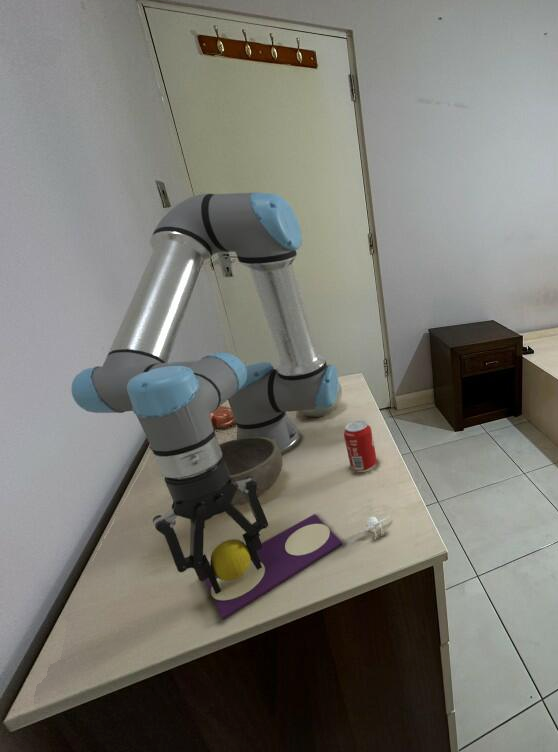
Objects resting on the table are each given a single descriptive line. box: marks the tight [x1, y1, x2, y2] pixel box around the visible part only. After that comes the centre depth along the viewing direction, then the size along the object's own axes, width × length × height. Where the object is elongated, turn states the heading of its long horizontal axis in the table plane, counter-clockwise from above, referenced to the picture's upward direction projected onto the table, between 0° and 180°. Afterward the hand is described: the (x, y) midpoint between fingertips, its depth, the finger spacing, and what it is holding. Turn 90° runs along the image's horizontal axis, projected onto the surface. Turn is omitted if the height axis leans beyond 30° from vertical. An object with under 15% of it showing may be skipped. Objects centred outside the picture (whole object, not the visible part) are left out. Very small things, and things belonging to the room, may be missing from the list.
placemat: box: [204, 514, 343, 621], centre depth 74 cm, size 12×20×1 cm, turn 139°
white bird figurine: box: [354, 515, 390, 540], centre depth 79 cm, size 8×5×5 cm, turn 132°
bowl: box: [219, 437, 284, 507], centre depth 91 cm, size 17×18×10 cm
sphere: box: [297, 380, 343, 418], centre depth 126 cm, size 15×14×15 cm
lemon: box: [209, 538, 251, 581], centre depth 68 cm, size 6×6×8 cm
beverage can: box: [343, 420, 378, 473], centre depth 99 cm, size 6×6×12 cm
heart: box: [210, 405, 236, 429], centre depth 120 cm, size 6×12×15 cm
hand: (237, 575), depth 69 cm, fingers closed on lemon, 6 cm apart
